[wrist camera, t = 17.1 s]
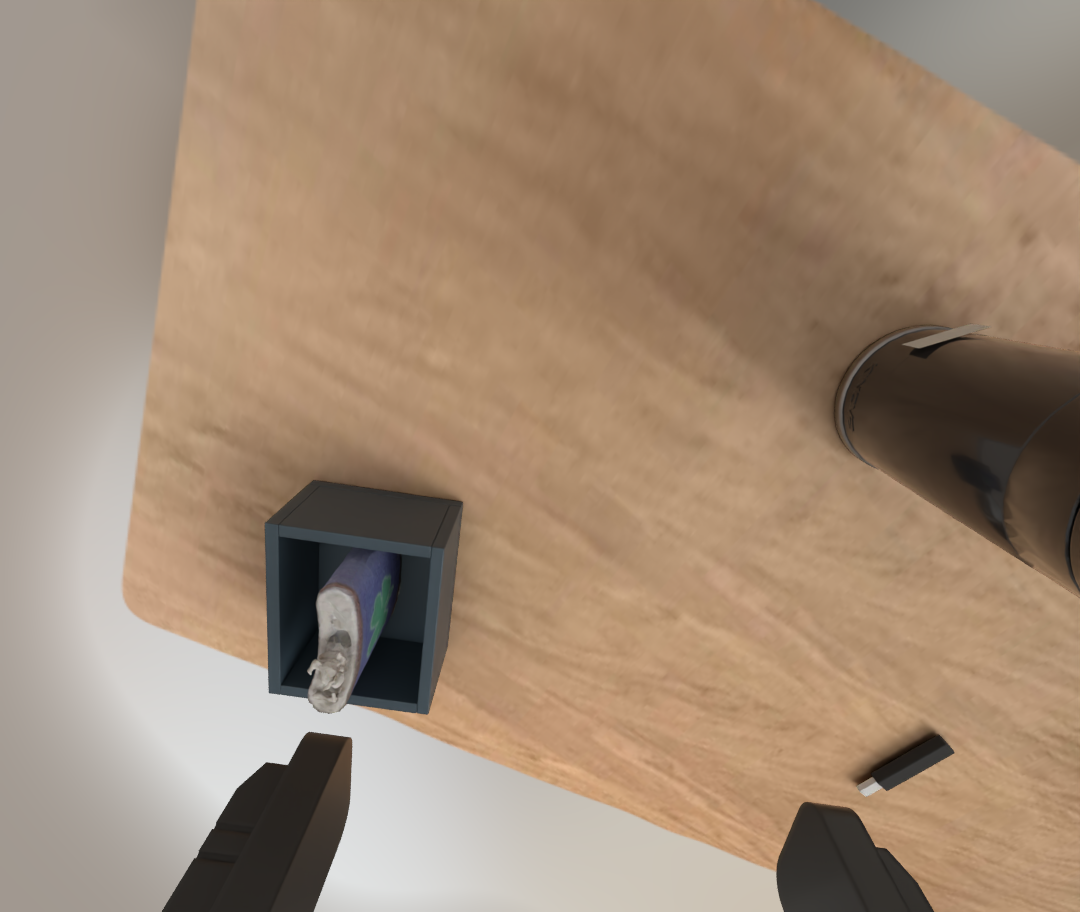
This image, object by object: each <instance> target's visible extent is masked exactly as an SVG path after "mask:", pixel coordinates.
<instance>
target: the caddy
mask: <svg viewBox="0 0 1080 912" xmlns="http://www.w3.org/2000/svg"><path fill="white" fill-rule="evenodd" d="M462 509H463V502H460V501H453V500H446V499H440V498H433V497H426V496H419V495H412V494H405V493H398V492H392V491H385V490H378V489H371V488H364V487H357V486H351V485H344V484H337V483H330V482H323V481H316V480H313V481H312V482H311V483H310V484H308V485H307V486H306V487H305V488H304V489H303V490H302V491H300V492H299V493H298V494H297V495H296V496H295V497H294V498H293V499H291V500H290V501H289V502H288V503H287V504H286V505H285V506H283V507H282V508H281V509H280V510H279V511H278V512H277V513H276V514H274V515H273V516H272V517H271V518H270V519H269V520H268V521H267V522H265V552H266V595H267V637H268V675H269V676H268V678H269V679H268V680H269V693H272V694H279V695H280V694H281V695H287V696H295V697H302V698H308V690H309V686H310V684H311V681H312V679H313V676H314V673H315V669H313V671H312V674H311V675H310V674H309V673H308V672H307V670H308V669H309V668H310V666H311V663H312V661H313V660H315V659H317V657H318V645H319V642H318V638H319V623H318V615H317V609H316V601H317V596H318V593H319V592H320V590H321V589H322V588H323V587H324V586H325V584H326V583H327V582H328V581H329V579H330V578H331V576H332V575H333V573H334V572H335V571H336V569H337V568H338V567H339V566H340V564H341V563H342V562H343V561H344V559H345V557H346V556H347V554H348V553H349V552H350V551H351V550H352V548H353V547H355V548H362V549H369V550H376V551H383V552H390V553H397V554H401V558H402V560H401V561H402V563H401V584H400V591H399V595H398V601H397V603H396V605H395V609H394V612H393V614H392V615H391V617H390V619H389V622H388V623H387V625H386V626H385V628H384V630H383V632H382V633H381V635H380V637H379V639H378V641H377V643H376V645H375V647H374V649H373V651H372V653H371V655H370V657H369V659H368V661H367V663H366V665H365V667H364V669H363V671H362V673H361V675H360V677H359V679H358V681H357V683H356V685H355V687H354V689H353V692H352V694H351V696H350V698H349V700H348V701H347V704H352V705H360V706H367V707H374V708H381V709H389V710H396V711H403V712H410V713H416V712H417V713H419V714H428V713H429V710H430V706H431V703H432V699H433V696H434V692H435V689H436V685H437V682H438V678H439V675H440V671H441V668H442V664H443V661H444V657H445V654H446V651H447V647H448V637H449V628H450V619H451V610H452V601H453V592H454V582H455V573H456V564H457V555H458V546H459V536H460V527H461V518H462Z"/></svg>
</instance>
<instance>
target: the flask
mask: <svg viewBox="0 0 1080 912" xmlns="http://www.w3.org/2000/svg"><path fill="white" fill-rule="evenodd" d="M401 560H402V558H401V554H397V553H390V552H383V551H376V550H369V549H362V548H355V547H353V548H352V550H351V551H350V552H349V553H348V554H347V556H346V557H345V559H344V561H343V562H342V563H341V564H340V566H339V567H338V568H337V569H336V571H335V572H334V573H333V575H332V576H331V578H330V579H329V581H328V582H327V583H326V584H325V586H324V587H323V588H322V589H321V590H320V592H319V593H318V596H317V601H316V609H317V615H318V623H319V638H318V642H319V645H318V657H317V659H315V660H313V661H312V663H311V666H310V668H309V669H308V670H307V672H308V673H309V674H310V675H311V674H312V671H313V669H315V673H314V676H313V679H312V681H311V684H310V686H309V690H308V700H309V702H310V703H311V704H313V707H314V708H315V709H316V710H317V711H319V712H323V713H328V714H329V713H335V712H339V711H340V710H341V709H342V708H343V707H344V706H345V705H346V704H347V701H348V700H349V698H350V696H351V694H352V692H353V689H354V687H355V685H356V683H357V681H358V679H359V677H360V675H361V673H362V671H363V669H364V667H365V665H366V663H367V661H368V659H369V657H370V655H371V653H372V651H373V649H374V647H375V645H376V643H377V641H378V639H379V637H380V635H381V633H382V632H383V630H384V628H385V626H386V625H387V623H388V622H389V619H390V617H391V615H392V614H393V612H394V609H395V605H396V603H397V601H398V595H399V591H400V584H401V563H402V561H401Z"/></svg>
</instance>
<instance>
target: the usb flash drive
mask: <svg viewBox="0 0 1080 912" xmlns="http://www.w3.org/2000/svg"><path fill="white" fill-rule="evenodd" d="M952 754H954V751H953V749H952V748H951V747H950V746H949V745H948V743H947V742H946V741H945V740H944V739H943V738H942V737H941V736H940V735H937V736H935V737H933V738H931V739H930V740H928V741H926V742H924V743H923V744H921V745H919V746H918V747H916V748H914V749H912V750H911V751H909V752H907V753H905V754H904V755H902V756H900V757H898V758H897V759H895V760H893V761H892V762H890V763H888V764H886V765H885V766H883V767H881V768H879V769H878V770H876V771H874V772H872V773H871V775H872V776H873V777H871V778H870V779H868V780H866V781H864V782H863V783H861V784H859V785H858V786H856V787H857V788H858V790H859V791H860V792H861V793H862V794H863V795H865V796H866V797H867V796H869V795H870V794H872V793H874V792H876V791H878V790H879V789H881V788H884V789H885V790H886V791H888V790H890V789H892V788H893V787H895V786H897V785H899V784H901V783H902V782H904V781H906V780H908V779H909V778H911V777H913V776H915V775H917V774H918V773H920V772H922V771H924V770H925V769H927V768H929V767H931V766H933V765H934V764H936V763H938V762H940V761H941V760H943V759H945V758H947V757H949V756H950V755H952Z"/></svg>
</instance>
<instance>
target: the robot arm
mask: <svg viewBox="0 0 1080 912" xmlns="http://www.w3.org/2000/svg"><path fill="white" fill-rule="evenodd" d="M989 327H990V326H983V325H977V324H968V325H965V326H961V327H958V328H955V329H952V328H947V327H941V326H933V325H921V326H913V327H908V328H904V329H901V330H898V331H895V332H893V333H891V334H888V335H886V336H884V337H883V338H881V339H879V340H878V341H876V342H875V343H873V344H872V345H871V346H869V347H868V348H867V349H866V350H865V351H864V352H863V353H861V354H860V355H859V356H858V358H857V359H856V360H855V361H854V362H853V364H852V365H851V366H850V368H849V369H848V371H847V372H846V374H845V376H844V378H843V380H842V382H841V384H840V387H839V389H838V393H837V396H836V402H835V422H836V427H837V430H838V433H839V436H840V438H841V440H842V441H843V443H844V444H845V446H846V447H847V448H848V450H849V451H850V452H851V453H852V454H854V455H855V456H856V457H857V458H859V459H860V460H862V461H863V462H865V463H866V464H868V465H870V466H872V467H874V468H876V469H879V470H881V471H882V472H884V473H885V474H887V475H888V476H890V477H891V478H892V479H894V480H895V481H897V482H899V483H900V484H902V485H903V486H905V487H906V488H908V489H909V490H911V491H913V492H914V493H916V494H917V495H919V496H920V497H922V498H924V499H925V500H927V501H928V502H930V503H931V504H933V505H934V506H936V507H938V508H939V509H941V510H942V511H944V512H945V513H947V514H949V515H950V516H952V517H953V518H955V519H956V520H958V521H959V522H961V523H963V524H964V525H966V526H967V527H969V528H970V529H972V530H974V531H975V532H977V533H978V534H980V535H981V536H983V537H985V538H986V539H988V540H989V541H991V542H992V543H994V544H995V545H997V546H999V547H1000V548H1002V549H1003V550H1005V551H1006V552H1008V553H1010V554H1011V555H1013V556H1014V557H1016V558H1017V559H1019V560H1020V561H1022V562H1024V563H1025V564H1027V565H1028V566H1030V567H1031V568H1033V569H1035V570H1037V571H1038V572H1040V573H1041V574H1043V575H1045V576H1046V577H1048V578H1049V579H1051V580H1052V581H1054V582H1056V583H1057V584H1059V585H1060V586H1062V587H1063V588H1065V589H1066V590H1068V591H1070V592H1071V593H1073V594H1074V595H1076V596H1077V597H1079V598H1080V352H1078V351H1072V350H1066V349H1060V348H1054V347H1048V346H1042V345H1036V344H1031V343H1025V342H1019V341H1013V340H1007V339H1001V338H995V337H989V336H985V335H978V334H972V333H973V332H976V331H979V330H983V329H986V328H989ZM351 762H352V739H351V738H350V737H343V736H336V735H329V734H321V733H314V732H308V733H307V734H306V735H305V736H304V738H303V739H302V740H301V742H300V744H299V746H298V748H297V749H296V751H295V753H294V755H293V757H292V759H291V761H290V762H289V764H288V765H282V764H275V763H265V764H264V765H263V766H262V767H261V768H260V769H258V770H257V771H256V772H255V773H254V774H253V775H252V776H251V777H249V778H248V779H247V780H246V781H245V782H244V783H243V784H242V785H240V786H239V787H238V788H237V790H236V791H235V793H234V794H233V796H232V798H231V799H230V801H229V802H228V804H227V806H226V807H225V809H224V811H223V812H222V814H221V815H220V817H219V819H218V821H217V822H216V826H215V828H214V829H212V830H211V832H210V833H209V835H208V837H207V838H206V840H205V842H204V844H203V845H202V847H201V848H200V850H199V854H198V856H197V858H194V860H193V861H192V863H191V865H190V866H189V868H188V870H187V871H186V873H185V875H184V876H183V878H182V879H181V881H180V883H179V884H178V886H177V887H176V889H175V891H174V892H173V894H172V896H171V897H170V899H169V901H168V902H167V904H166V905H165V907H164V909H163V910H162V912H314V909H315V906H316V903H317V901H318V898H319V896H320V893H321V891H322V887H323V885H324V882H325V879H326V877H327V875H328V872H329V869H330V867H331V864H332V861H333V859H334V856H335V853H336V851H337V848H338V845H339V842H340V840H341V837H342V834H343V831H344V827H345V823H346V819H347V815H348V810H349V804H350V789H351V765H352V763H351ZM777 886H778V892H779V897H780V901H781V904H782V907H783V910H784V912H934V911H933V909H932V907H931V906H930V904H929V902H928V900H927V899H926V897H925V895H924V894H923V892H922V890H921V888H920V887H919V885H918V883H917V882H916V881H915V880H914V879H913V878H912V876H911V875H910V874H909V873H908V872H907V871H906V870H905V869H904V868H903V866H902V865H901V864H900V863H899V862H898V861H897V860H896V859H895V858H894V856H893V855H892V854H891V853H890V852H889V851H888V850H887V849H885V848H878V847H875V845H874V843H873V841H872V839H871V837H870V836H869V834H868V832H867V830H866V828H865V826H864V825H863V823H862V821H861V819H860V818H859V816H858V815H857V814H856V813H855V812H854V811H853V810H852V809H850V808H847V807H840V806H833V805H826V804H818V803H811V802H805V803H803V804H802V805H801V806H800V808H799V810H798V813H797V815H796V818H795V820H794V822H793V825H792V827H791V830H790V832H789V834H788V837H787V839H786V841H785V844H784V846H783V849H782V851H781V853H780V856H779V859H778V863H777Z"/></svg>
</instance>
